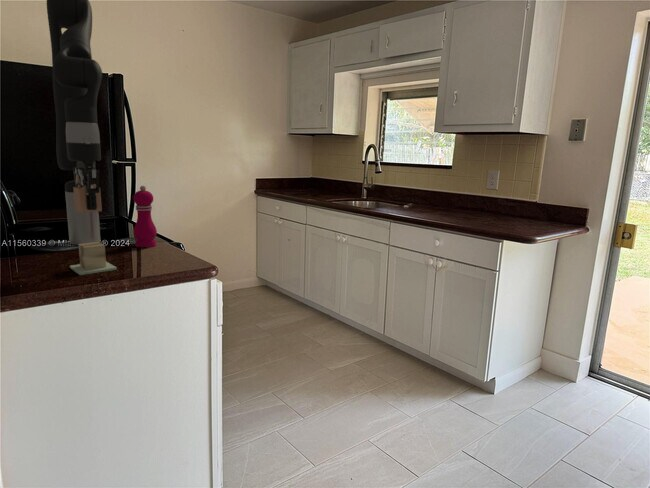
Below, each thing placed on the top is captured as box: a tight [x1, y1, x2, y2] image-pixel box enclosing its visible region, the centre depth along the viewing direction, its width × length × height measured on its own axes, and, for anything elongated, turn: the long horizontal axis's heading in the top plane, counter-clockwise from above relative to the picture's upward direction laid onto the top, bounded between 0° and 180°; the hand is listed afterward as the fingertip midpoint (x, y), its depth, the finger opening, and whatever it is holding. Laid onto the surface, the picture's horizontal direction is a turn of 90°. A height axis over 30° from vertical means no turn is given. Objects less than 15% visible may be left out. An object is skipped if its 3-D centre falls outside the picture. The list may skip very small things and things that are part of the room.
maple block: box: [77, 241, 107, 270], centre depth 119 cm, size 5×5×6 cm
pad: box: [69, 261, 118, 276], centre depth 119 cm, size 9×9×1 cm
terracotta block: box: [73, 187, 103, 213], centre depth 116 cm, size 5×5×6 cm
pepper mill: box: [132, 185, 158, 248], centre depth 146 cm, size 7×7×20 cm
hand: (88, 208), depth 116 cm, fingers closed on terracotta block, 5 cm apart
